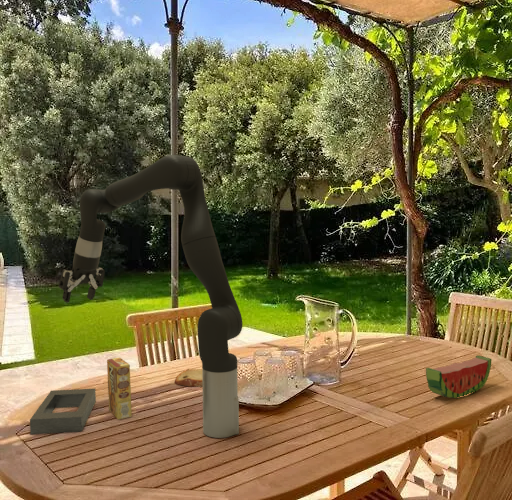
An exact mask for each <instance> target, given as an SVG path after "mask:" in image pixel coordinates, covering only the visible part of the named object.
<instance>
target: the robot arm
mask: <svg viewBox="0 0 512 500" xmlns="http://www.w3.org/2000/svg"><path fill="white" fill-rule="evenodd" d="M165 189H167V190H168V189H169V190H173V191H174V190H175V191H177V190H178V191H179V195H180V197H181V201H182V204H183V208H184V209H183V211H184V213H183V222H182V225H181V234H180V241H181V246H182V249H183V253H184V257H185V260H186V262H187V265H188V267H189V268H190V270H191V271H192V273H193V275H195V276H196V278H197V279H198V281H199V282H200V283H201V284H202V285H203V287H204V289H205V290H206V293H207V294H208V298H209V301H210V304H211V305H210V306H211V308H208V309H206V310H204V311H202V313H201V314H200V316H199V318H198V320H197V321H198V322H197V343H198V355H199V358H200V361H201V366H202V368H201V369H202V382H203V387H202V431H203V434H204V435H205V436H207V437H210V438H216V439H218V438H219V439H220V438H221V439H225V438H228V437H229V438H230V437H232V436H234V435H235V436H236V435H239V434H240V429H239V428H240V427H239V426H240V421H239V420H240V417H239V415H240V411H239V410H240V407H239V404H240V402H239V395H238V378H237V376H238V358H237V355H235V354H234V353H230V351H229V341H230V340H233V339H235V338H236V337H238V336H239V335H240V334H241V332H242V330H243V317H242V314H241V313H242V312H241V311H240V309H239V305H238V303H237V299H235V296H234V293H233V290H232V288H231V285H230V283H229V279H228V276H227V272H226V269H225V266H224V263H223V259H222V255H221V251H220V247H219V244H218V240H217V237H216V236H217V235H216V234H215V231H214V227H213V223H212V220H211V216H210V215H211V214H210V212H209V208H208V204H207V199H206V194H205V188H204V183H203V177H202V172H201V169H200V166H199V164H198V163H197V161H196V159H194V158H193V157H190V156H185V155H179V154H168V155H165V156H163V157H161V158H159V159H158V160H156V161H155V162H153V163H151V164H150V165H149V166H147V167H146V168H144V169H142V170H140V171H139V172H136V173H135V174H133V175H130V176H128V177H125V178H122V179H120V180H117V181H114V182H112V183H110V184H109V185H107V186H106V188H105V189H101V188H99V189H95V188H94V189H93V188H91V189H90V188H88V189H86V190H84V191H83V192H82V194H81V196H80V199H79V210H80V211H79V212H80V220H81V221H80V222H81V223H80V224H81V225H80V230H79V236H78V239H77V241H76V245H75V249H74V255H73V261H72V269H71V270H67V269H65V268H64V269H62V271H61V275H60V279H59V282H58V288H59V289H61V290H62V291H63V293H62V300H63V302H65V304H66V303H70V300H71V297H72V296H71V295H72V291H73V289H74V288H75V287H77V286H78V285H81V284H82V285H83V284H88V285H89V287H88V290H87V291H88V292H87V297H86V298H88V300H93V299H94V298H95V296H96V290H97V289H98V288H100V287H101V288H102V287H103V285H104V279H105V272H106V270H105V269H103V268H102V267H100V266H99V264H100V258H101V254H102V249H103V241H104V240H103V239H104V235H105V231H106V224H105V222H104V221H103V220H102V219H98V218H97V214H104V213H105V214H107V213H111V212H115V211H117V210H118V209H119V208H121V207H122V206H125V205H128V204H131V203H133V202H136V201H138V200H139V199H141V198H142V197H144V195H146V194H147V193H149V192H152V191H157V190H165ZM94 277H95V278H94Z"/></svg>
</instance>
